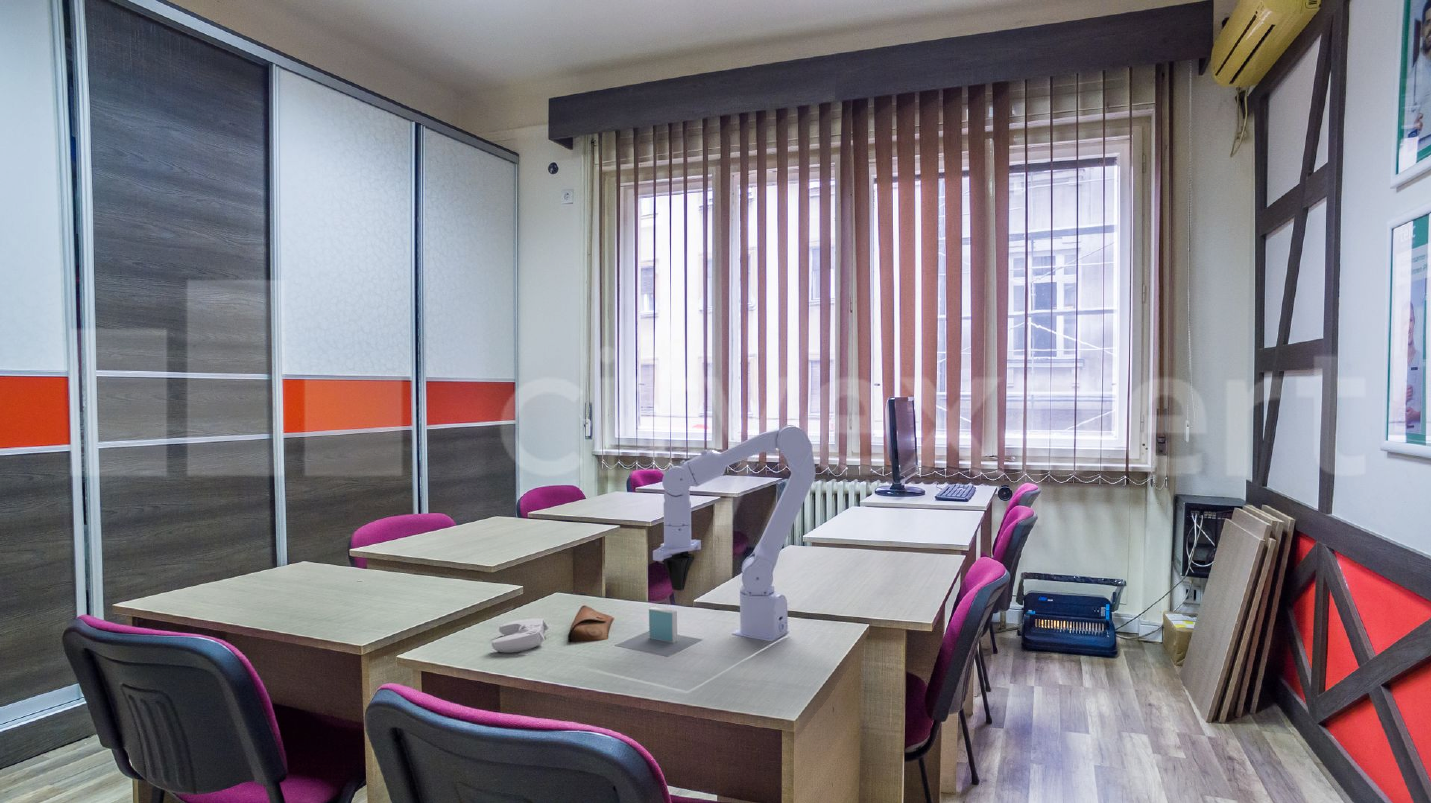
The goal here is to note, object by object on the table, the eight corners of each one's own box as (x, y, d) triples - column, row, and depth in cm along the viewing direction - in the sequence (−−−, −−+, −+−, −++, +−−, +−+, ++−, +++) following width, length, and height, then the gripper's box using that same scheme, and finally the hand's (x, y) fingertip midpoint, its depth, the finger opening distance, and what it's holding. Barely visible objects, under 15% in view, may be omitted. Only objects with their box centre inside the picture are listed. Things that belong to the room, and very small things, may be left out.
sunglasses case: (610, 642, 154) (593, 614, 154) (580, 661, 154) (562, 633, 154) (615, 617, 172) (600, 592, 172) (588, 634, 172) (573, 609, 172)
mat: (703, 641, 155) (702, 639, 155) (667, 658, 145) (667, 656, 145) (651, 631, 162) (651, 629, 162) (614, 647, 152) (614, 645, 152)
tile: (677, 640, 154) (676, 610, 154) (672, 642, 153) (672, 612, 153) (653, 636, 157) (653, 606, 157) (648, 638, 156) (648, 608, 156)
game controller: (499, 619, 162) (546, 607, 163) (504, 640, 162) (551, 627, 163) (487, 640, 148) (539, 627, 149) (493, 662, 148) (544, 649, 149)
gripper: (681, 518, 168) (682, 580, 168) (640, 527, 156) (641, 594, 156) (708, 520, 164) (709, 583, 164) (668, 530, 152) (669, 598, 152)
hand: (678, 589), depth 160 cm, fingers closed
